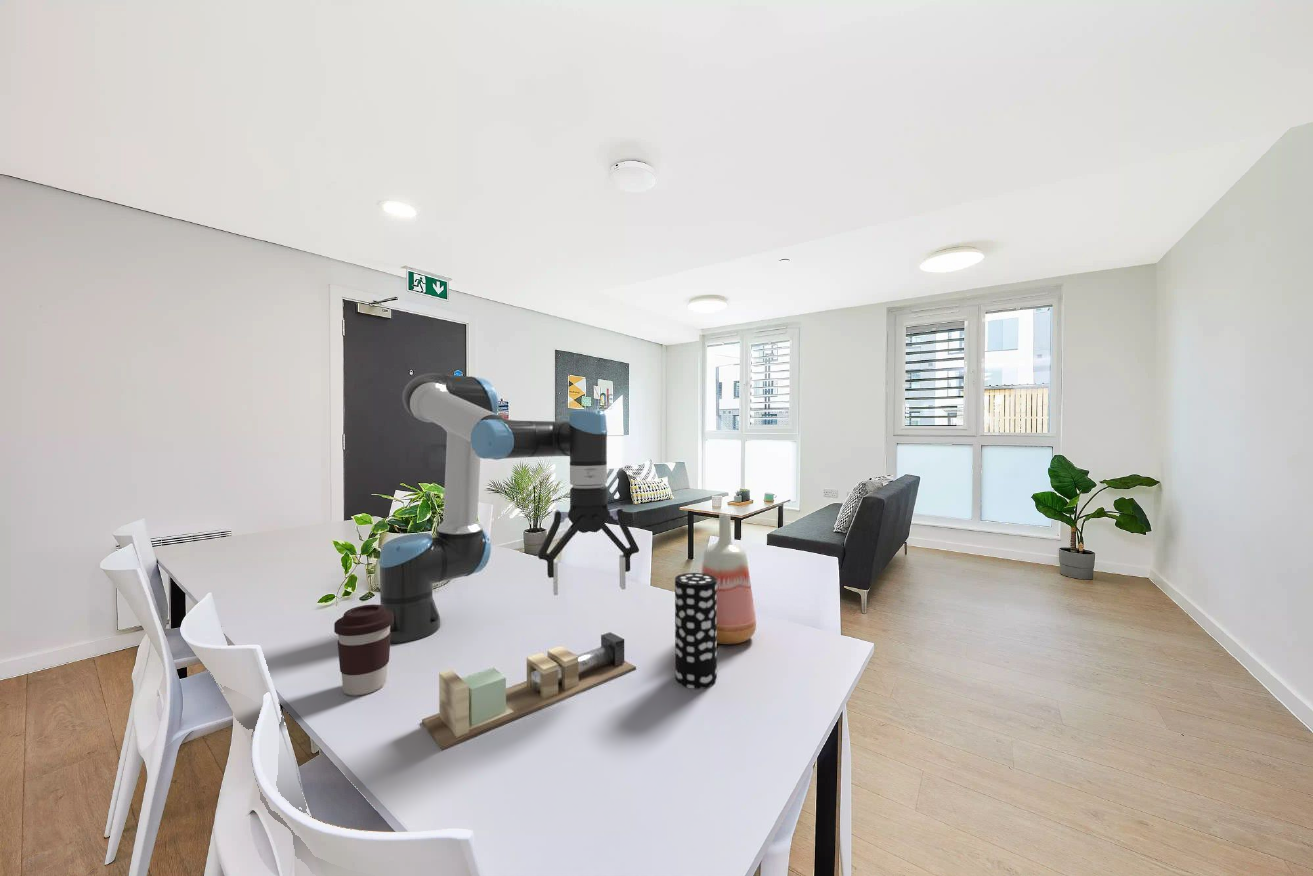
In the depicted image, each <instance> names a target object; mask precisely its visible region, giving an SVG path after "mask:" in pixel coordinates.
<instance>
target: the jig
mask: <svg viewBox="0 0 1313 876" xmlns="http://www.w3.org/2000/svg"><path fill="white" fill-rule="evenodd" d="M546 653H547V656H546V655H545V654H543V653H542V652H537V653H535V654H532V655H529V656H527V657H526V680H525V681H523V682H520V683H517V684H514V685H511V686H509V687H506V712H504V713H502V714H499V715H497V716H494V717H492V718H489V719H487V720H484V721H482V722H479V723H477V724H474V725H471V724H470V723H469V686H468V685H467V684H466V683H465V682H464V681H463V680H462V679H461V678H462V677H460V676H459V675H458V674H457V673H456V672H455V671H454V670H453V669H452V668H449V669H447V670H443V671H440V672H438V673H439V678H438V679H439V682H438V684H439V686H438V687H439V689H438V691H439V694H438V695H439V696H438V699H439V702H438V703H439V707H438V709H439V711H438V713H436V714H432V715H430V716H428V717H424V718H422V719H421V721H422V724H423V726H424V727H425V728H426V730H427V731H428V732H429V734H430V735H431V736H432V738H433V739H434V741H435V742H436V743H437V745H438V746H439V747H440V749H441V750H442V751H444V750H447V749H449V748H450V747H451V748H452V747H453V746H456V745H458V744H460V743H463V742H466V741H467V740H470V739H472V738H475V737H477V736H479V735H482V734H485V733H486V732H489V731H491V730H494V729H497V728H499V727H502V726H503V725H506V724H508V723H510V722H513V721H516V720H518V719H521V718H522V717H525V716H527V715H530V714H532V713H535V712H537V711H539V710H540V711H541V709H544V708H546V707H549V706H551V705H554V704H556V703H559V702H561V701H564V700H565V699H568V698H570V697H573V696H575V695H578V694H580V693H582V692H585V691H587V690H590V689H592V688H594V687H597V686H599V685H601V684H603V683H606V682H609V681H611V680H614V679H615V678H618V677H620V676H622V675H626V674H628V673H631V672H633V671H635V670H636V669H637V666H635V665H634V664H632V663H630V662H628V661H626V660H624V663H623V664H620V665H618V666H613V665H612V664H610V663H609V664H606V665H604V666H601V667H598V668H596V669H593V670H591V671H588V672H586V673H583V674H580V675H579V660H578V656H577V655H576V654H574V653H573V652H571V651H570V650H568V649H566V648H565V647H563V646H561V645H559V646H556V647H554V648H550V649H547V652H546ZM557 662H558V663H560V664H561V665H562V682H560V683H558V664H557ZM535 670H538V671H539V672H540V675H541V690H539V691H535V690H534V689H533V687H532V684H531V679H530V676H531V672H532V671H535Z"/></svg>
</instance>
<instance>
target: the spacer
mask: <svg viewBox="0 0 1313 876" xmlns="http://www.w3.org/2000/svg"><path fill="white" fill-rule="evenodd" d="M460 678H461V679H462V680H463V681H464V682H465V683H466V684H467V685H468V686H469V723H470V724H471V725H474V724H477V723H479V722H482V721H484V720H487V719H489V718H492V717H494V716H497V715H499V714H502V713H504V712H506V688H507V677H506V676H505V675H503V674H502V673H501V672H500V671H499V670H498V669H496V667H491V668H487V669H485V670H482V671H479V672H475V673H473V674H469V675H467V676H463V677H460Z"/></svg>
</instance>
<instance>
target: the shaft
mask: <svg viewBox="0 0 1313 876" xmlns="http://www.w3.org/2000/svg"><path fill="white" fill-rule="evenodd" d="M576 656H578V660H579V675H580V674H583V673H586V672H588V671H591V670H593V669H596V668H598V667H601V666H604V665H606V664H609V663H610V664H612V665H613V666H618V665H620V664H623V663H624V661H625V639H624V638H623V637H621V636H618V635H616V634H614V633H612V632H606V633H604V634H600V647H596V648H594V649H592V650H591V649H590V650H588V651H585V652H582V653H580V654H577V655H576ZM557 664H558V683H560V682H562V665H561V664H560V663H558V662H557ZM530 679H531V684H532V687H533V689H534V690H535V691H539V690H541V675H540V672H539V671H538V670H535V671H532V672H531V676H530Z"/></svg>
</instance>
